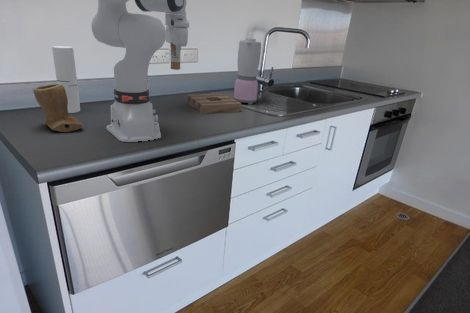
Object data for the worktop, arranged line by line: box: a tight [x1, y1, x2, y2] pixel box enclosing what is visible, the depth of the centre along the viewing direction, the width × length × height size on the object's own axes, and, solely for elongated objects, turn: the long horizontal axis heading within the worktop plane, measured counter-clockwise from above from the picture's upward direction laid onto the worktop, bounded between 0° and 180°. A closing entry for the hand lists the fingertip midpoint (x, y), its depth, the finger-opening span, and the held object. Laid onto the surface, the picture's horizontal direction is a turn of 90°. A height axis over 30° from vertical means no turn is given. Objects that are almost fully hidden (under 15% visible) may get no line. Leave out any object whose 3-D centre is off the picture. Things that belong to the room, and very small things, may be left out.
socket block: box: [186, 93, 243, 115], centre depth 153 cm, size 20×20×4 cm
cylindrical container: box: [51, 45, 81, 114], centre depth 126 cm, size 7×7×25 cm
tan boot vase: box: [33, 83, 84, 133], centre depth 109 cm, size 15×12×15 cm
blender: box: [233, 37, 262, 106], centre depth 164 cm, size 16×12×32 cm
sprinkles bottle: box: [169, 38, 181, 71], centre depth 141 cm, size 5×5×13 cm
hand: (175, 55), depth 142 cm, fingers closed on sprinkles bottle, 4 cm apart
